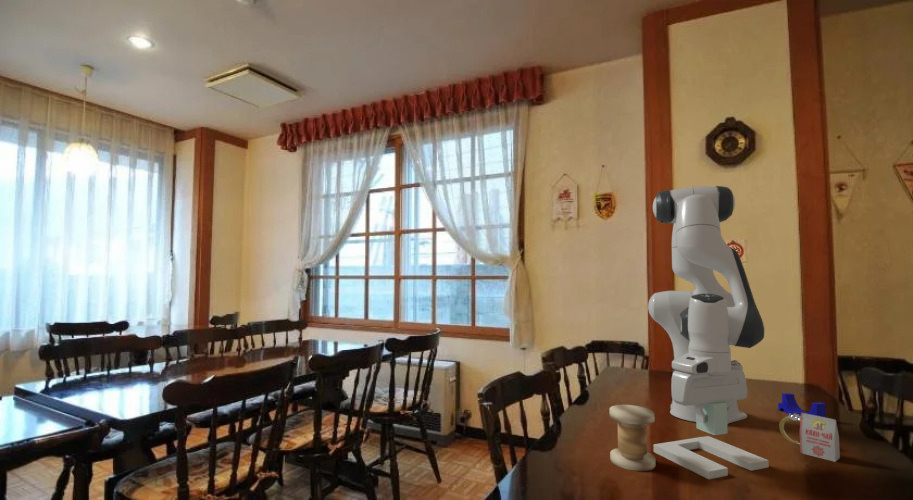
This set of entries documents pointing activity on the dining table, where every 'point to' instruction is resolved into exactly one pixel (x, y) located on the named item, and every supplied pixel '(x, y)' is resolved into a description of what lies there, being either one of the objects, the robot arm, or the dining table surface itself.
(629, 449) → the bobbin
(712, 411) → the pale green block
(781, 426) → the ring
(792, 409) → the cable clip
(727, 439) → the dining table surface
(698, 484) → the dining table surface
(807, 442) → the tea bag
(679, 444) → the u-shaped core
